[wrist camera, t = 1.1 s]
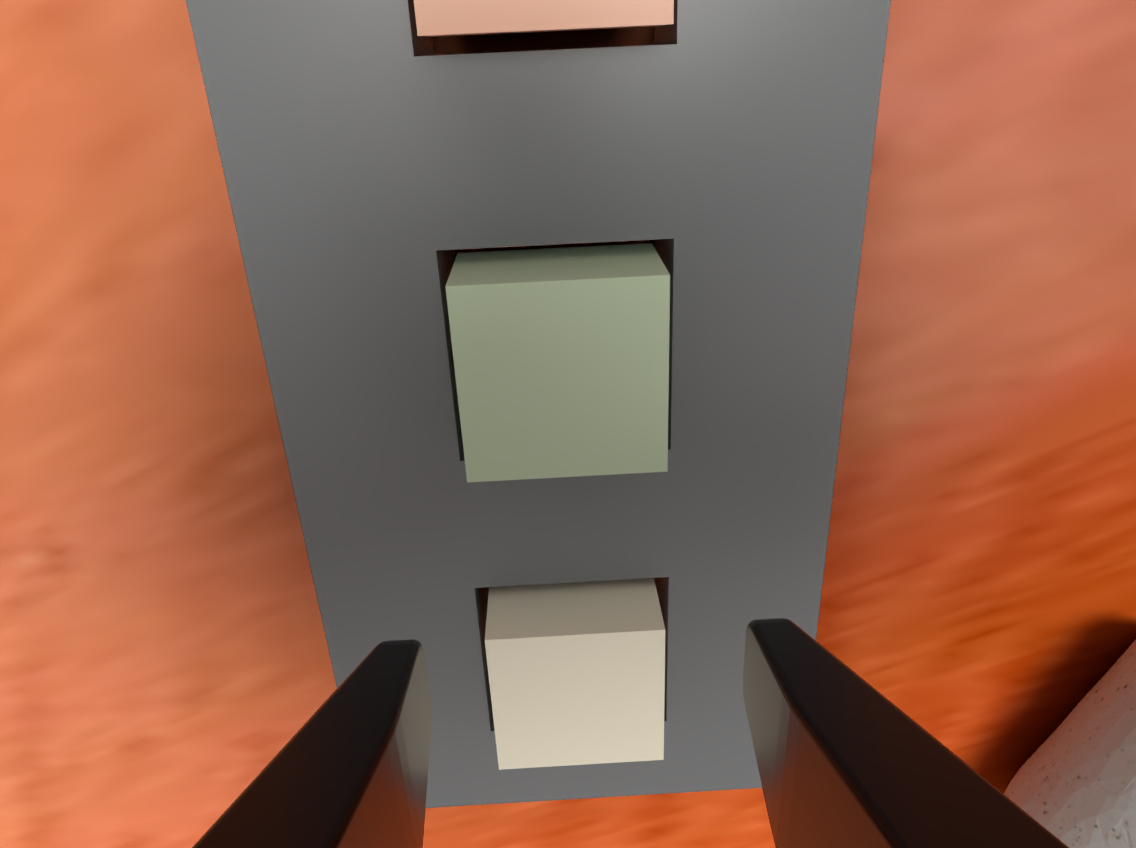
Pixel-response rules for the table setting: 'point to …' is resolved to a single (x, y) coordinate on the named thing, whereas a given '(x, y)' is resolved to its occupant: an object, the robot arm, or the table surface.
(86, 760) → the table surface
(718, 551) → the console
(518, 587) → the cream button
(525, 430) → the sage button
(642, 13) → the terracotta button
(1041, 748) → the ceramic mug
